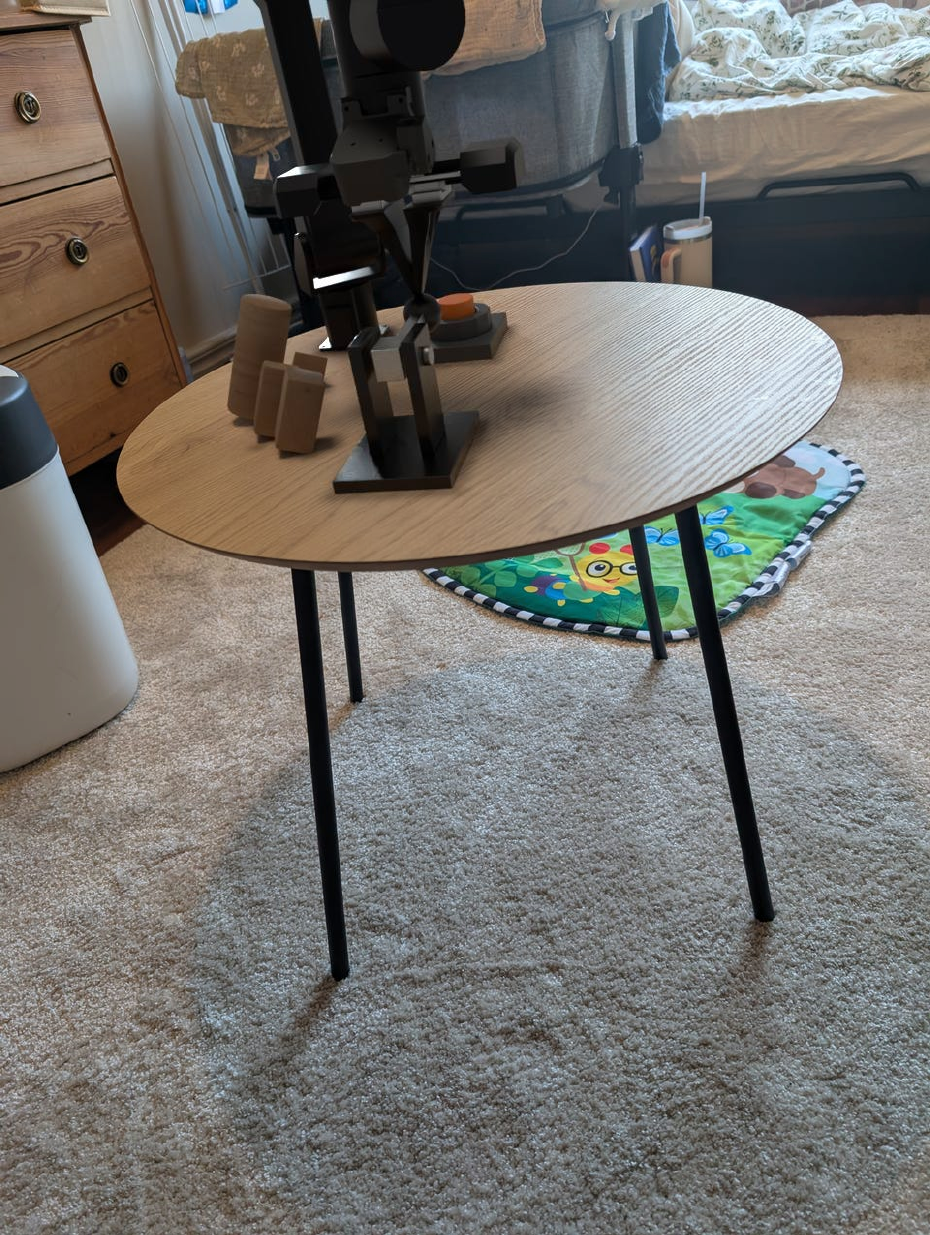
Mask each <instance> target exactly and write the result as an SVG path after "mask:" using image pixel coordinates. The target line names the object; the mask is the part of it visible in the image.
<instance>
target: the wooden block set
mask: <svg viewBox="0 0 930 1235" xmlns="http://www.w3.org/2000/svg"><path fill="white" fill-rule="evenodd" d="M292 312H293V307H292V306H291V304H289V303H288V302H286V301H285V300H282V299H280V298H277V297H274V296H270V295H265V294H257V293H247V294H243V295H242V296H241V298H240V304H239V310H238V320H237V327H236V335H235V340H234V341H235V342H234V350H233V357H232V365H231V373H230V381H229V389H228V396H227V403H226V407H227V410H228V412H230V413H231V414H233V415H234V416H237V417H239V418H243V419H245V420H251V421H253V433H254V434H255V435H260V436H265V437H270V438H271V437H272V438H274V443H275V448H276V449H277V450H279V451H286V452H294V453H299V454H305V455H306V454H307V455H308V454H311V453H314V450H315V443H316V439H317V432H318V429H319V422H320V417H321V413H322V407H323V401H324V396H325V391H326V384H325V376H326V370H327V364H328V357H325V356H319V355H315V354H309V353H304V352H299V351H295V352H294V355H293V359H292V362H291V364H288V363H284V362H285V356H286V351H287V344H288V339H289V331H290V326H291V325H290V324H291V320H292Z"/></svg>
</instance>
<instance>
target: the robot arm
mask: <svg viewBox="0 0 930 1235" xmlns="http://www.w3.org/2000/svg"><path fill="white" fill-rule="evenodd" d="M325 1H326V5H327V6H326V8H327V11H328V18H329V22H330V27H331V34H332V37H333V43H334V50H335V54H336V58H337V64H338V68H339V76H340V78H341V85H342V89H343V95H344V96H342V97H340V104H341V107H340V110H341V116H342V130H341V131H342V132H340V133H339V132H338V128H337V123H336V122H337V121H336V118H335V114H334V113H335V112H334V109H333V104H332V100H331V99H332V98H331V94H330V90H329V85H328V81H327V76H326V72H325V67H324V63H323V58H322V54H321V48H320V44H319V40H318V35H317V32H316V31H317V30H316V25H315V21H314V17H313V13H312V8H311V4H310V0H252V2H253V3H254V4H255V6H256V7H257V8H258V9H259V12H260V15H261V19H262V24H263V27H264V28H263V29H264V31H265V36H266V39H267V44H268V48H269V52H270V56H271V61H272V64H273V69H274V73H275V77H276V81H277V85H278V90H279V94H280V97H281V98H280V99H281V101H282V102H281V103H282V106H283V110H284V114H285V119H286V123H287V127H288V130H289V136H290V140H291V143H292V144H291V145H292V147H293V152H294V155H295V160H296V164H297V166H295V167H294V168H291V169H290V170H289V171H287V172H285V173H282V174H281V175H279V176H277V177H276V178H275V181H274V183H273V186H272V198H273V199H272V200H273V203H274V208H275V212H276V215H277V218H278V219H281V220H283V219H293V218H294V223H295V228H296V233H295V234H294V237H293V241H294V242H293V247H294V248H293V249H294V250H293V251H294V271H295V274H296V278H297V281H298V284H299V287H300V290H302V292H304V293H305V294H307V295H308V296H309V297H310V298H312V297H316V295H318V300H319V303H320V309H321V313H322V318H323V321H324V325H325V330H326V334H327V338H326V339H325V340H324V341H323V342H322V343H321V344H320V345H319V347H318V350H319V353H324V352H325V353H326V352H337V351H347V347H348V346H349V345H350V343H351V342H352V341H353V340H354V339H355V338H356V337H357V335H358V334H359V333H360V332H361V331H362V330H363V328H369V327H376V330H377V335H378V340H379V339H380V338H382V337H386V336H387V334H388V333H389V331H390V330H391V325H390V324H380V323H379V318H378V314H377V308H376V302H375V299H374V294H373V287H372V284H371V281H375V280H379V279H380V280H382V279H386V278H387V273H388V272H387V257H386V250H387V252H388V253H389V255H390V257H391V259H392V261H393V263H394V264H395V266H396V268H397V270H398V272H399V274H400V276H401V277H402V279H403V280H404V283H405V285H406V286H407V289H408V291H409V293H410V294H411V296H414V295H422V294H423V293H425V290H426V283H427V279H428V271H429V266H430V260H431V254H432V248H433V241H434V237H435V233H436V229H437V226H438V222H439V218H440V216H441V215H440V214H441V213H442V212H441V211H443V210H444V209H445V208H446V207H447V206H448V205H449V204H450V203H451V202H452V201H453V200H454V199H455V198H456V192H455V190H456V189H454V188H453V189H452V185H461V186H463V188H465V189H466V190H467V191H468V192H469V193H470V194H472V195H473V196H476V195H477V196H478V195H484V194H485V195H486V194H492V193H499V192H500V193H501V192H509V191H512V190H516V189H518V188H519V186H520V184H521V183H522V182H523V180H524V179H525V177H526V176H527V169H526V168H527V167H526V159H525V151H524V147H523V144H522V143H521V142H520V140H518V139H517V138H516V137H515V136H510V137H503V138H495V139H489V140H482V141H475V142H474V141H473V142H470V143H468V145H466V146H465V147H464V148H463V149H462V150H461V151H460V152H459V156H451V157H444V158H437V159H436V157H437V149H436V144H435V140H434V136H433V132H432V128H431V127H430V123H429V116H428V112H427V106H426V105H427V104H426V99H425V96H427V91H426V85H425V84H426V83H425V78H422V72H432V71H434V70H437V69H439V68H441V67H443V66H444V65H446V64H447V63H448V62H449V61H451V59H452V58H453V57H454V56H455V55H456V53H457V51H458V49H460V45H461V43H462V41H463V38H464V34H465V28H466V6H465V0H325ZM407 195H408V196H410V198H411V201H410V202H409V203H408V204H407V205H406V204H405V200H404V199H405V197H407ZM314 276H315V278H314Z"/></svg>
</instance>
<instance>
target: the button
mask: <svg viewBox="0 0 930 1235" xmlns="http://www.w3.org/2000/svg"><path fill="white" fill-rule="evenodd" d="M437 301H438V302H439V304H440V307H441V310H442V317H441V319H444V320H452V319H460V318H464V317H468V316H470V315H472V314H474V313H475V308H474V303H475V302H474V295H473V294H471V293H466V292H465V293H462V292H461V293H453V294H449V295H445V296H443V297H441V298H438V299H437Z"/></svg>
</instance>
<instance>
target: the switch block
mask: <svg viewBox="0 0 930 1235" xmlns="http://www.w3.org/2000/svg"><path fill="white" fill-rule="evenodd" d="M474 308H475V313H474V314H472V315H470V316H468V317H464V318H460V319H452V320H444V319H441V321H440V323H439V325H438V327H437V328H436V329H435V330H434V331H432V332H430V333H429V336H430V341H431V346H432V348H433V352H434V365H437V364H449V363H461V362H475V361H485V360H492V359H493V358H494V357H495V354H496V352H497V350H498V348H499V346H500V344H501V342H502V339H503V337H504V335H505V334H506V332H507V330H508V328H509V327H508V326H509V325H508V317H507V311H502V312H491V307H490V306H489V305H487V304H485V303H483V302H482V303H481V302H474Z"/></svg>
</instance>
